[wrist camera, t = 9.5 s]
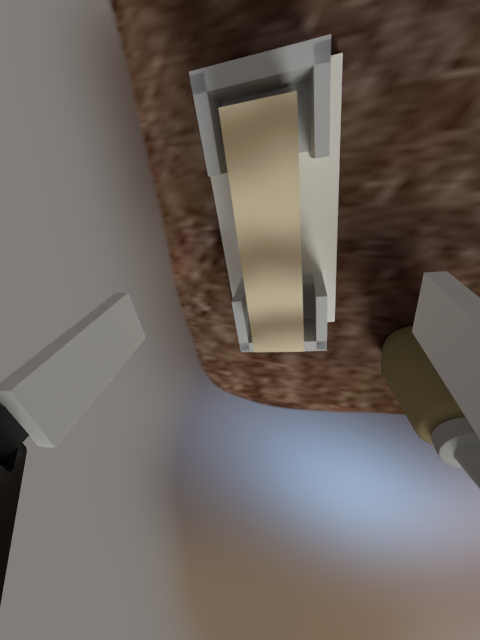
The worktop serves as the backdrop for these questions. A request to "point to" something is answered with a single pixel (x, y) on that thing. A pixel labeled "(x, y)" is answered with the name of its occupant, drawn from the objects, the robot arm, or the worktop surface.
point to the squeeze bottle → (429, 402)
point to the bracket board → (314, 165)
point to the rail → (267, 215)
